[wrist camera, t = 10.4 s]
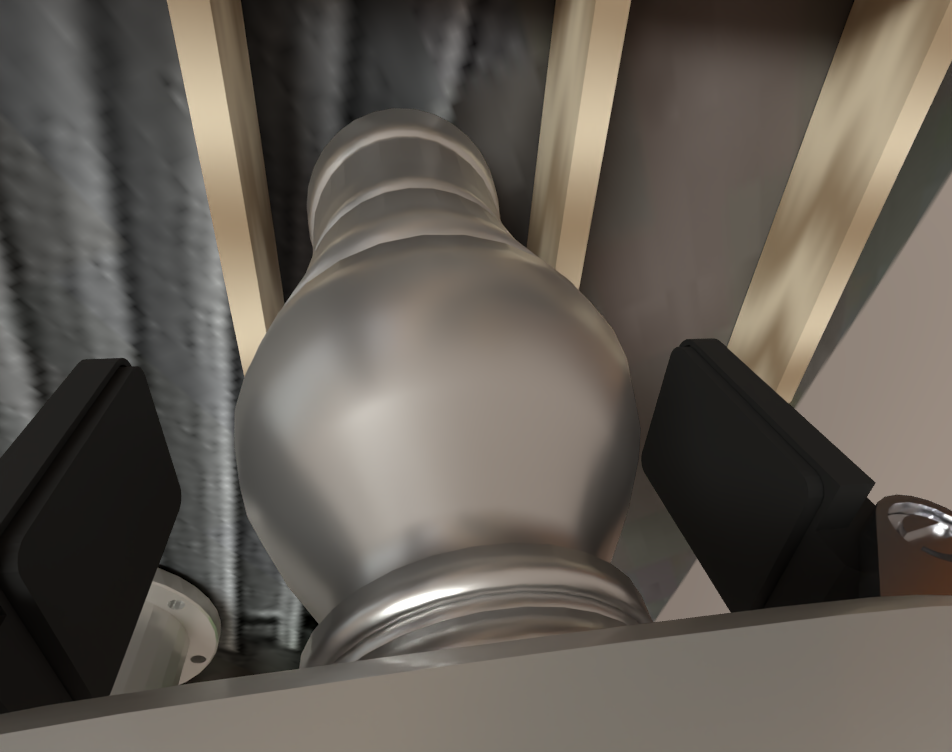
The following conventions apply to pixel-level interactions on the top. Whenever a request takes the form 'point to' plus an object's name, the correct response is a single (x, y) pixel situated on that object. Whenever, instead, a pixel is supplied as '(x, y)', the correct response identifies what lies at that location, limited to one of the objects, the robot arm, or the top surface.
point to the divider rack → (581, 152)
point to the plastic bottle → (435, 415)
